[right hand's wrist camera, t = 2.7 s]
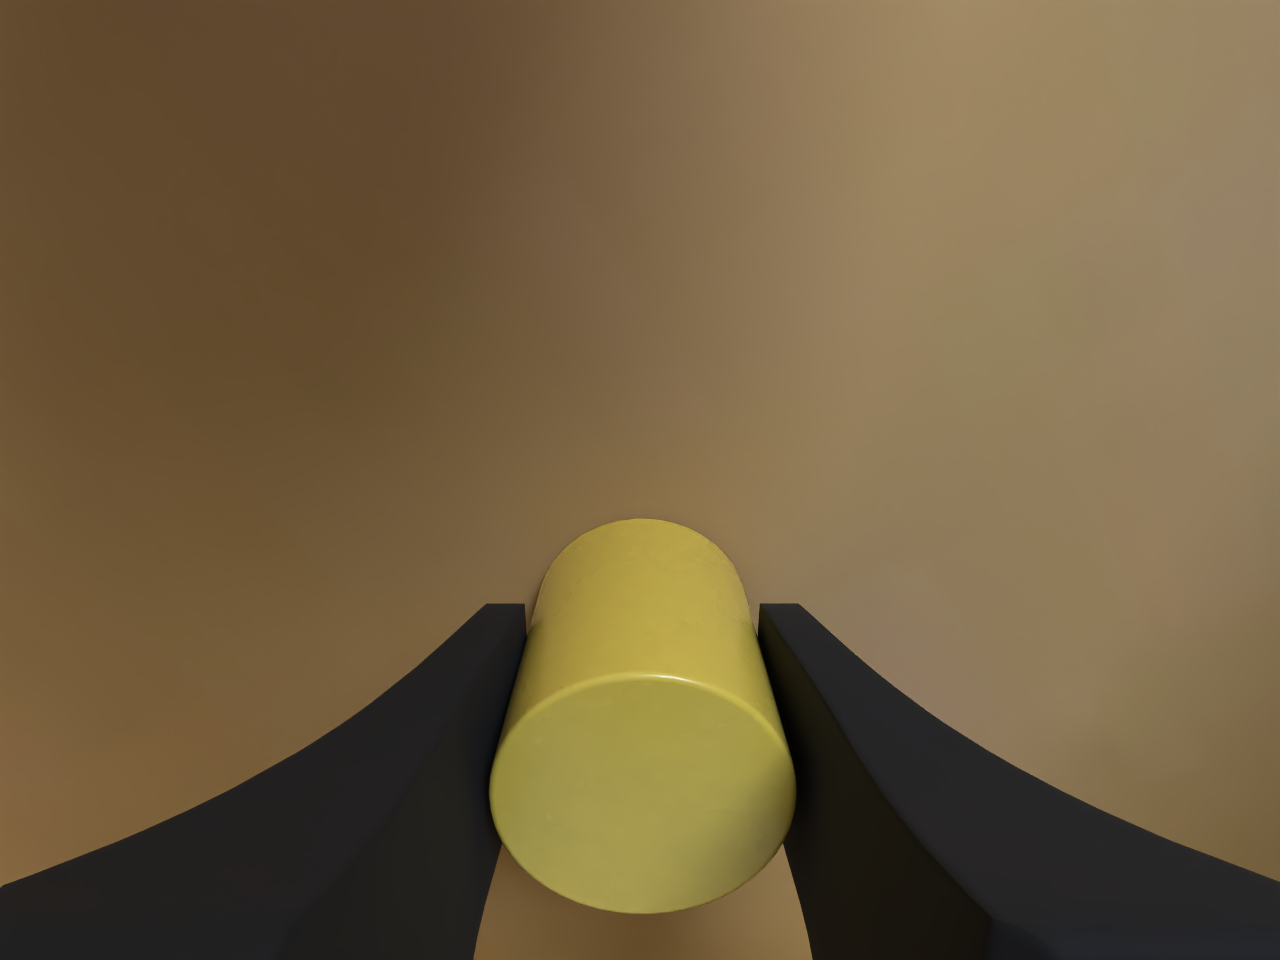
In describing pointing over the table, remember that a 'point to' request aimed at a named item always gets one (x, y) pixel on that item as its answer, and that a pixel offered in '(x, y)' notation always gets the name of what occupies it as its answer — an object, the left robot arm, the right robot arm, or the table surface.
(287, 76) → the table surface
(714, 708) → the canister
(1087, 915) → the right robot arm
